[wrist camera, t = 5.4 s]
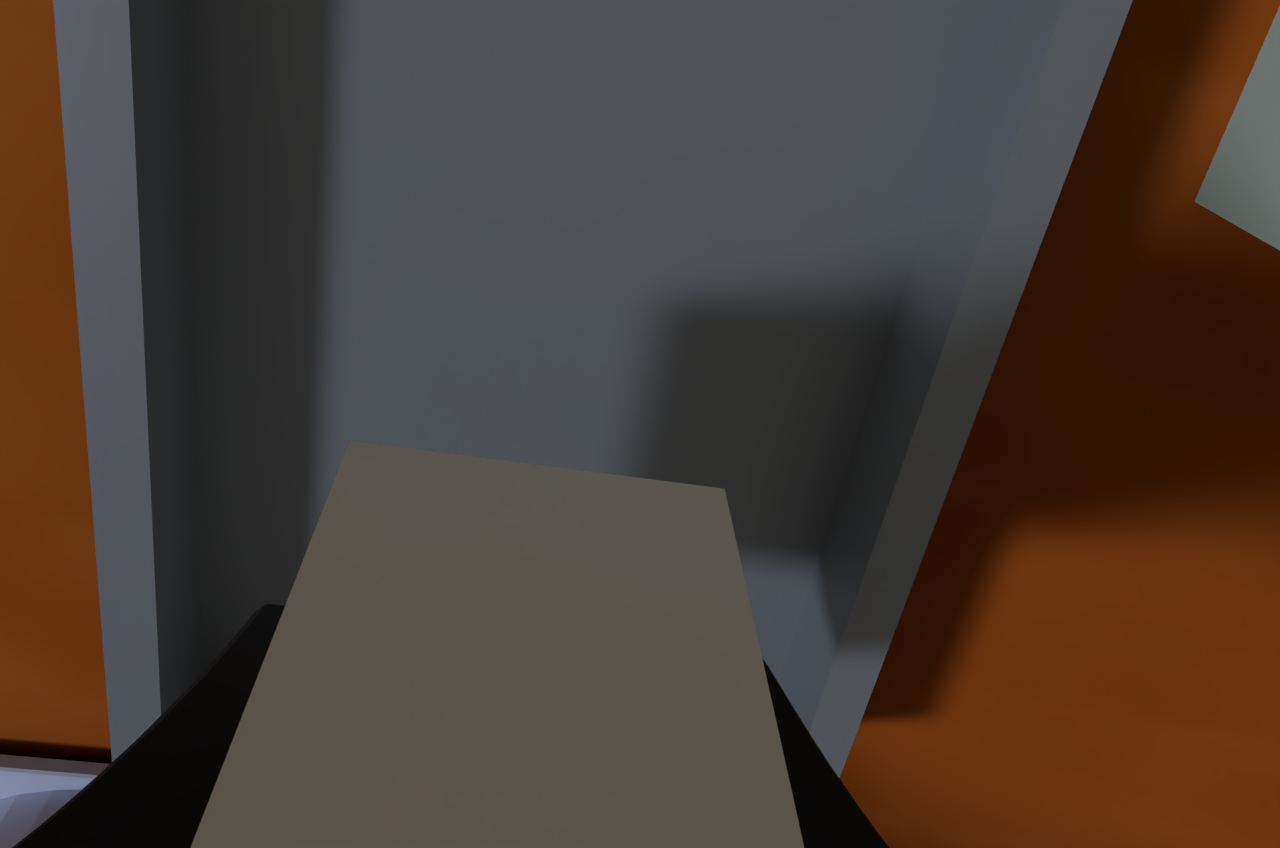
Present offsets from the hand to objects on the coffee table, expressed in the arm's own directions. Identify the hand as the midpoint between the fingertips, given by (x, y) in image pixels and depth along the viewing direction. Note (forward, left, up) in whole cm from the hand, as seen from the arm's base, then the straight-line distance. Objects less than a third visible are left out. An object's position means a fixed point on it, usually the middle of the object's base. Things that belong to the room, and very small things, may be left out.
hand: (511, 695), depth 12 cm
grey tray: (+2, 0, -6) cm, 7 cm away
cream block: (0, 0, -1) cm, 1 cm away
